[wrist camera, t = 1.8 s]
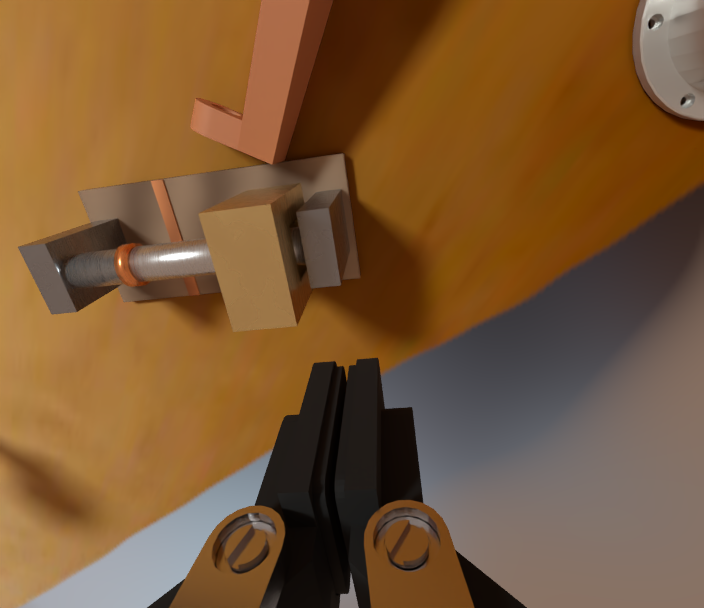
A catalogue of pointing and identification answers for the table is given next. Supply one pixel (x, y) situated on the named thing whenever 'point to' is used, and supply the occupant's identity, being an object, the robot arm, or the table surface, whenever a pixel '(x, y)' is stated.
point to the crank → (270, 81)
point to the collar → (258, 257)
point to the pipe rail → (170, 256)
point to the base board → (201, 194)
